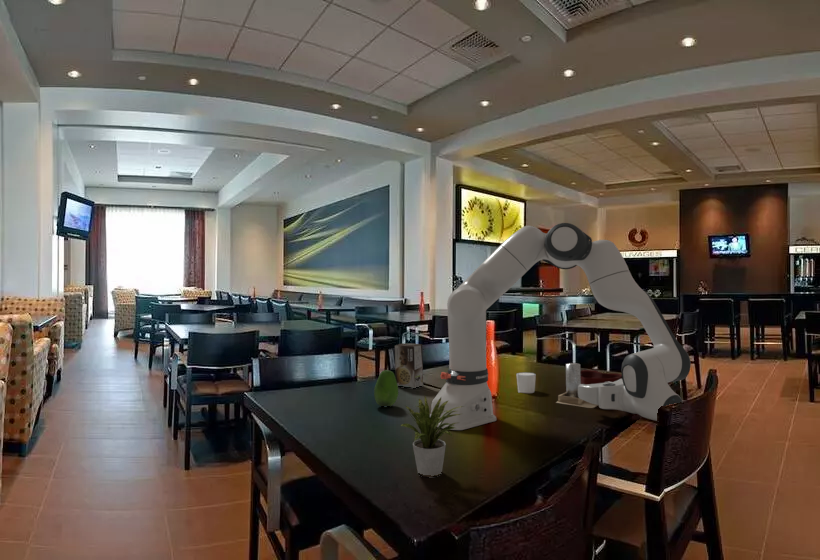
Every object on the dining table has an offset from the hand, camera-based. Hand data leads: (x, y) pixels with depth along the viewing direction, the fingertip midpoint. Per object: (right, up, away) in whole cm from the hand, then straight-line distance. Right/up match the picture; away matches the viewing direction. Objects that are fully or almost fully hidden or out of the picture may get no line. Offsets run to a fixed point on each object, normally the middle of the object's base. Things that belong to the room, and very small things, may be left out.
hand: (593, 385), depth 155 cm
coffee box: (-57, -9, +39) cm, 69 cm away
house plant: (-52, -9, -49) cm, 72 cm away
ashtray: (+13, -8, +33) cm, 36 cm away
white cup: (-15, -8, +25) cm, 30 cm away
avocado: (-64, -9, +8) cm, 65 cm away
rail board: (+3, -8, +13) cm, 16 cm away
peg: (-3, -7, +9) cm, 12 cm away
